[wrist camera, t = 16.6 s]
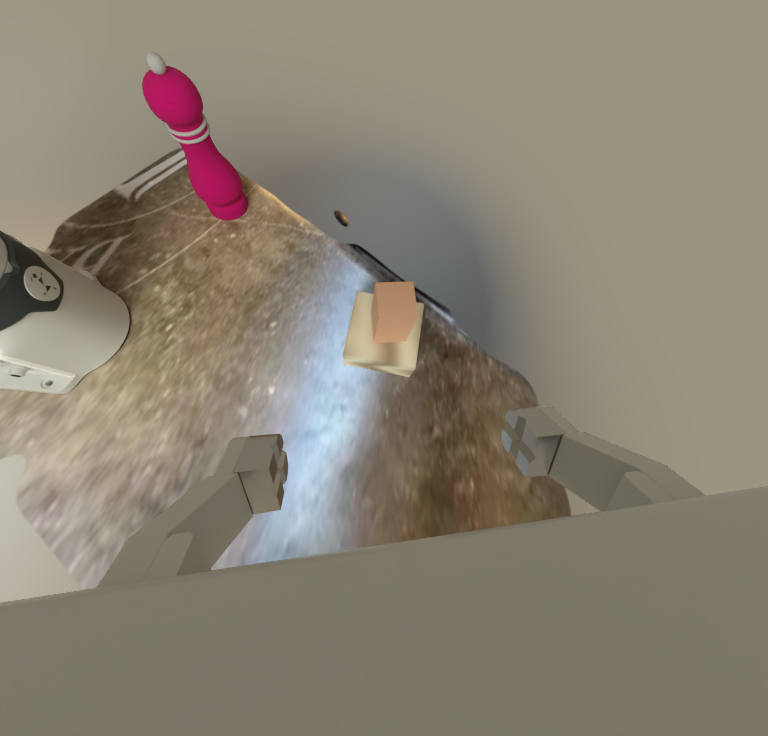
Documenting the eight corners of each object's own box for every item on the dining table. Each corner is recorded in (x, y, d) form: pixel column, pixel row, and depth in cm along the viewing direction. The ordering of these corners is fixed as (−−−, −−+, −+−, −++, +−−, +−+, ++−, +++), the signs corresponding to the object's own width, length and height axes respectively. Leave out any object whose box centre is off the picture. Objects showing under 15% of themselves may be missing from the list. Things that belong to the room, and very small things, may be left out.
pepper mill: (228, 230, 49) (145, 85, 30) (197, 207, 50) (98, 51, 31) (259, 205, 51) (201, 54, 32) (229, 183, 52) (155, 24, 33)
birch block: (344, 365, 44) (342, 354, 39) (356, 307, 47) (356, 290, 42) (409, 377, 44) (415, 367, 40) (417, 319, 48) (424, 303, 43)
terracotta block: (373, 343, 40) (378, 318, 32) (370, 313, 41) (375, 282, 34) (405, 341, 41) (418, 316, 33) (401, 312, 42) (413, 281, 34)
